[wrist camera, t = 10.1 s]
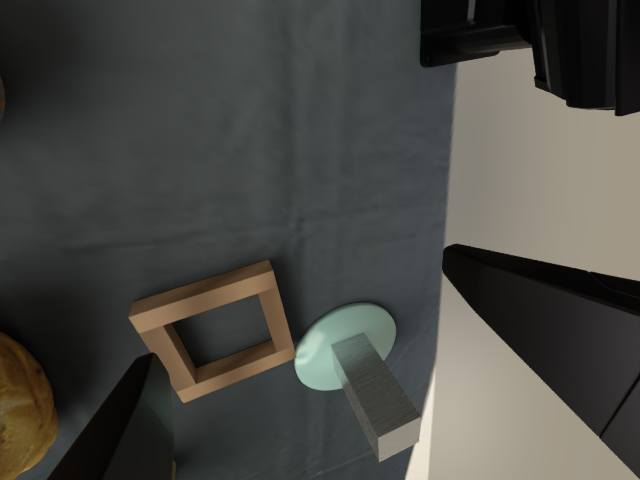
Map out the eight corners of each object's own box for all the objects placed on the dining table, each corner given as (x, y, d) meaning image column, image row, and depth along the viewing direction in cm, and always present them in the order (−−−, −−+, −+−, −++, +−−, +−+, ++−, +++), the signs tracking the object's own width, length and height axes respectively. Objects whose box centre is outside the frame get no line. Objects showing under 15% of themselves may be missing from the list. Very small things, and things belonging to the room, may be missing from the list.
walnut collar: (268, 259, 23) (273, 270, 21) (291, 344, 28) (296, 357, 26) (132, 302, 20) (128, 317, 19) (184, 386, 25) (183, 403, 24)
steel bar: (363, 331, 30) (421, 416, 22) (365, 355, 31) (418, 441, 24) (330, 345, 29) (377, 437, 21) (333, 369, 30) (379, 462, 23)
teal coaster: (392, 287, 29) (395, 290, 28) (393, 360, 35) (396, 364, 34) (283, 327, 26) (285, 332, 26) (304, 400, 32) (305, 405, 31)
